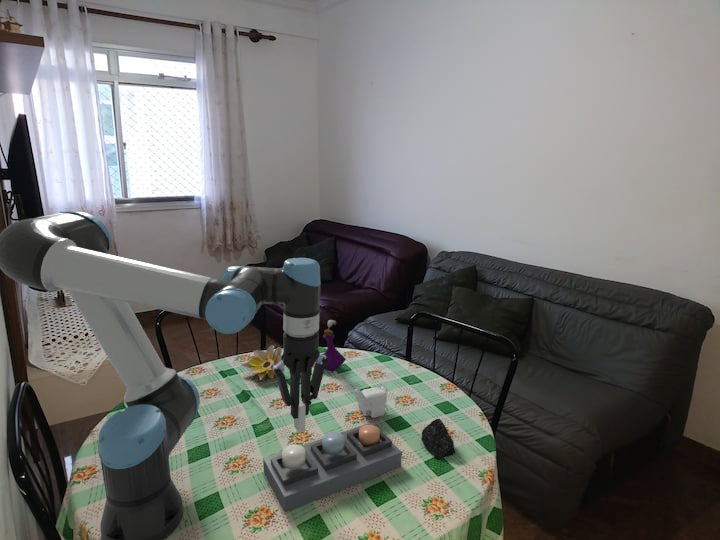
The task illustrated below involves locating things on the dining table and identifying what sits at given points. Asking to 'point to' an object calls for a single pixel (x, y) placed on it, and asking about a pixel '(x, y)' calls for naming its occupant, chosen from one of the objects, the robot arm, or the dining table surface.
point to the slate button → (333, 443)
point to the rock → (438, 440)
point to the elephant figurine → (372, 400)
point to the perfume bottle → (332, 350)
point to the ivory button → (293, 456)
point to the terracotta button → (369, 435)
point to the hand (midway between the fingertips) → (299, 428)
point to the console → (329, 469)
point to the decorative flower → (264, 361)
